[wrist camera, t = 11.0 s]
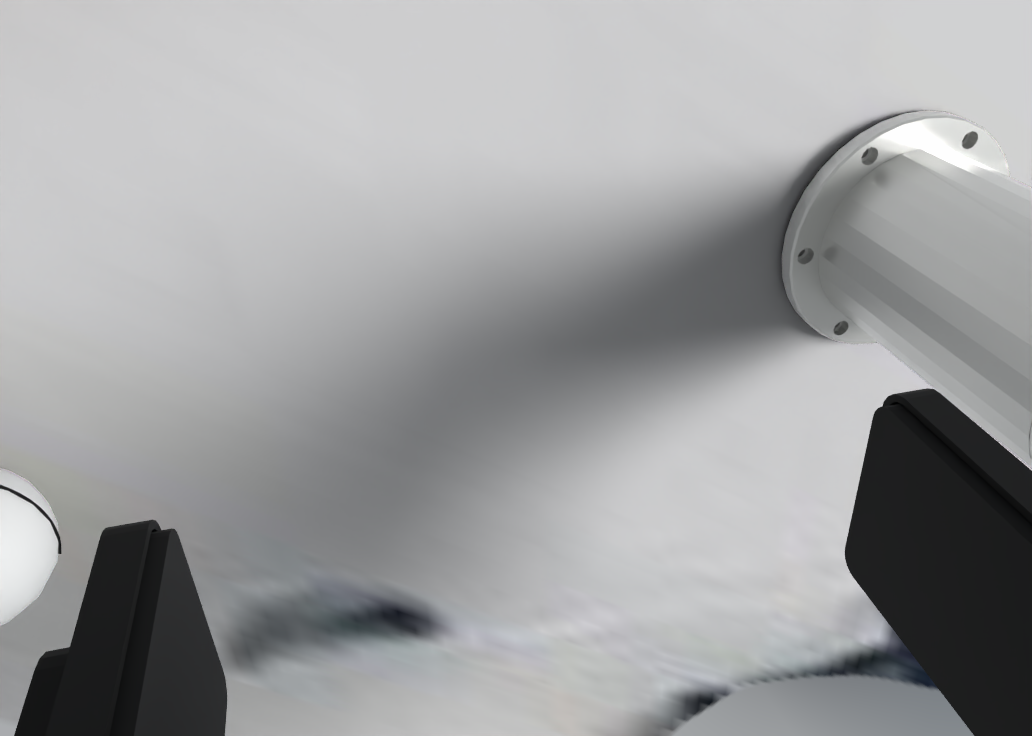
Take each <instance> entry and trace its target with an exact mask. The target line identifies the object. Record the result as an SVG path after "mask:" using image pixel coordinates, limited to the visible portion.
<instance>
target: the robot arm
mask: <svg viewBox="0 0 1032 736" xmlns="http://www.w3.org/2000/svg"><path fill="white" fill-rule="evenodd" d="M782 278H783V282H784V286H785V291H786V295H787V297H788V299H789V301H790V302H791V304H792V306H793V308H794V310H795V311H796V312H797V313H798V314H799V315H800V317H801V318H802V319H803V320H804V321H805V322H806V323H807V324H809V325H810V326H811V327H812V328H813V329H815V330H816V331H817V332H818V333H820V334H821V335H823V336H825V337H827V338H829V339H831V340H834V341H838V342H843V343H849V344H873V343H879V344H880V345H881V346H883V347H884V348H885V349H886V350H888V351H889V352H890V353H891V354H892V355H894V356H895V357H896V358H897V359H898V360H900V361H901V362H902V363H903V364H905V365H906V366H907V367H908V368H909V369H911V370H912V371H913V372H914V373H916V374H917V375H918V376H919V377H920V378H922V379H923V380H924V381H925V382H927V383H928V384H929V385H930V386H931V387H933V388H934V389H935V390H934V389H922V390H916V391H910V392H904V393H898V394H893V395H890V396H888V397H887V398H886V400H885V401H884V403H883V406H882V407H880V408H878V409H877V410H876V411H875V413H874V416H873V420H872V425H871V430H870V434H869V439H868V444H867V448H866V453H865V458H864V462H863V467H862V472H861V476H860V481H859V486H858V490H857V495H856V500H855V505H854V509H853V514H852V519H851V523H850V528H849V533H848V537H847V542H846V547H845V559H846V563H847V566H848V569H849V571H850V573H851V574H852V576H853V577H854V579H855V580H856V581H857V583H858V584H859V585H860V587H861V588H862V589H863V590H864V592H865V593H866V594H867V596H868V597H869V598H870V600H871V601H872V602H873V604H874V605H875V606H876V608H877V609H878V610H879V611H880V613H881V614H882V615H883V617H884V618H885V619H886V621H887V622H888V623H889V625H890V626H891V627H892V628H893V630H894V631H895V632H896V634H897V635H898V636H899V638H900V639H901V640H902V642H903V643H904V644H905V645H906V647H907V648H908V649H909V651H910V652H911V653H912V655H913V656H914V657H915V659H916V660H917V661H918V662H919V664H920V665H921V666H922V668H923V669H924V670H925V672H926V673H927V674H928V676H929V677H930V678H931V680H932V681H933V682H934V683H935V685H936V686H937V687H938V689H939V690H940V691H941V693H942V694H943V695H944V697H945V698H946V699H947V700H948V702H949V703H950V704H951V706H952V707H953V708H954V710H955V711H956V712H957V714H958V715H959V716H960V717H961V719H962V720H963V721H964V723H965V724H966V725H967V727H968V728H969V729H970V731H971V732H972V733H973V734H974V736H1032V471H1031V470H1030V469H1029V468H1028V467H1027V466H1025V465H1024V464H1023V463H1022V462H1021V461H1020V460H1022V461H1023V462H1024V463H1025V464H1027V465H1028V466H1029V467H1030V468H1031V469H1032V187H1031V186H1028V185H1026V184H1024V183H1022V182H1020V181H1018V180H1015V179H1013V178H1011V177H1010V171H1009V168H1008V164H1007V161H1006V157H1005V154H1004V152H1003V151H1002V149H1001V147H1000V146H999V144H998V142H997V140H996V139H995V138H994V137H993V136H992V135H991V134H990V133H989V132H988V131H986V130H985V129H984V128H983V127H982V126H980V125H978V124H976V123H974V122H972V121H970V120H968V119H966V118H963V117H960V116H957V115H954V114H951V113H948V112H942V111H928V110H925V111H918V112H911V113H905V114H901V115H899V116H896V117H893V118H890V119H887V120H885V121H882V122H880V123H878V124H876V125H874V126H873V127H871V128H869V129H867V130H865V131H864V132H862V133H860V134H859V135H857V136H856V137H855V138H853V139H852V140H851V141H850V142H848V143H847V144H846V145H844V146H843V147H842V148H840V149H839V150H838V151H837V152H836V153H835V154H834V155H833V156H832V157H831V158H830V159H829V160H828V161H827V162H826V164H825V165H824V166H823V167H822V168H821V169H820V170H819V171H818V173H817V174H816V175H815V177H814V178H813V180H812V181H811V182H810V184H809V185H808V186H807V188H806V189H805V191H804V193H803V195H802V196H801V198H800V200H799V202H798V204H797V206H796V208H795V210H794V212H793V214H792V217H791V220H790V223H789V226H788V229H787V231H786V234H785V240H784V246H783V252H782ZM965 414H966V415H965ZM971 419H972V420H973V421H972V420H971ZM976 423H977V424H978V425H979V426H980V427H979V426H978V425H977V424H976ZM982 428H983V429H984V430H985V431H986V432H985V431H984V430H983V429H982ZM987 432H988V433H989V434H990V435H991V436H992V437H994V438H995V439H996V440H997V441H998V442H1000V443H1001V444H1002V445H1003V446H1005V447H1006V448H1007V449H1008V450H1009V451H1011V452H1012V453H1013V454H1014V455H1016V456H1017V457H1018V458H1019V459H1020V460H1018V459H1017V458H1016V457H1015V456H1014V455H1012V454H1011V453H1010V452H1009V451H1008V450H1007V449H1005V448H1004V447H1003V446H1002V445H1001V444H999V443H998V442H997V441H996V440H995V439H994V438H992V437H991V436H990V435H989V434H988V433H987ZM226 711H227V689H226V681H225V676H224V672H223V669H222V666H221V663H220V660H219V657H218V654H217V651H216V648H215V645H214V642H213V639H212V636H211V633H210V630H209V627H208V624H207V621H206V618H205V615H204V611H203V608H202V605H201V602H200V599H199V596H198V593H197V590H196V587H195V584H194V581H193V578H192V575H191V572H190V569H189V566H188V563H187V560H186V557H185V554H184V551H183V548H182V545H181V542H180V539H179V536H178V534H177V532H176V530H175V529H167V530H162V531H161V528H160V526H159V524H158V523H157V522H156V521H155V520H149V521H143V522H137V523H131V524H125V525H120V526H114V527H108V528H105V529H104V530H103V532H102V534H101V537H100V540H99V544H98V548H97V551H96V555H95V559H94V562H93V566H92V569H91V573H90V577H89V580H88V584H87V588H86V591H85V595H84V598H83V602H82V606H81V609H80V613H79V617H78V620H77V624H76V627H75V631H74V635H73V638H72V642H71V646H70V647H69V648H63V649H58V650H53V651H48V652H45V653H44V655H43V656H42V657H41V658H40V659H39V661H38V664H37V666H36V668H35V671H34V674H33V677H32V680H31V683H30V687H29V690H28V693H27V696H26V699H25V703H24V706H23V709H22V712H21V716H20V719H19V722H18V725H17V728H16V732H15V735H14V736H225V724H226Z"/></svg>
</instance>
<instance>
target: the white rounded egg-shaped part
mask: <svg viewBox="0 0 1032 736" xmlns="http://www.w3.org/2000/svg"><path fill="white" fill-rule="evenodd" d="M58 554H61V541H60V536H59V533H58V523H57V520H56V518H55V516H54V513H53V511H52V509H51V506H50V505H49V503H48V502H47V500H46V499H45V498H44V496H43V495H42V494H41V493H40V492H39V491H38V490H37V489H36V488H35V487H34V485H33V484H32V483H31V482H30V481H28V480H26V479H24V478H23V477H21V476H19V475H17V474H16V473H14V472H12V471H10V470H6V469H3V468H0V626H1V625H3V624H6V623H8V622H9V621H10V620H12V619H13V618H14V617H15V616H17V615H18V614H19V613H20V612H22V611H23V610H24V609H25V608H26V607H28V606H29V605H30V604H31V603H32V602H33V601H34V600H36V599H37V598H38V597H39V596H40V594H41V592H42V590H43V588H44V586H45V584H46V583H47V581H48V579H49V577H50V575H51V573H52V571H53V569H54V567H55V565H56V563H57V561H58Z"/></svg>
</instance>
